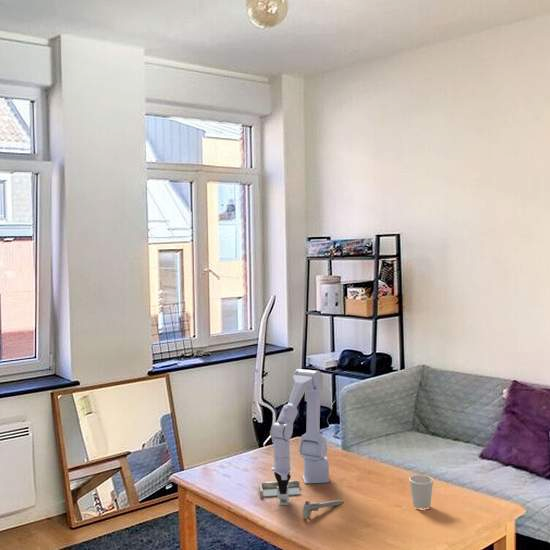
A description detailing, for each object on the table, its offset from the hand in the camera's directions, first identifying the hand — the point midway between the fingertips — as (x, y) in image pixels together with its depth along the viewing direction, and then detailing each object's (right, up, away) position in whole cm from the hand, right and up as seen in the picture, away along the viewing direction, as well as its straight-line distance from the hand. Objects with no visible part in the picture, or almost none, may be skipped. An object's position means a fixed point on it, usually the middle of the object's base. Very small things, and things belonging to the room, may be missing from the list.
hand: (282, 492), depth 240 cm
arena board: (-1, -2, +7) cm, 7 cm away
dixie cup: (+48, -2, -10) cm, 49 cm away
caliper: (+14, -3, -11) cm, 18 cm away
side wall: (-8, -2, +6) cm, 10 cm away
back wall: (-1, -2, +11) cm, 11 cm away
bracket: (0, -2, -2) cm, 3 cm away
